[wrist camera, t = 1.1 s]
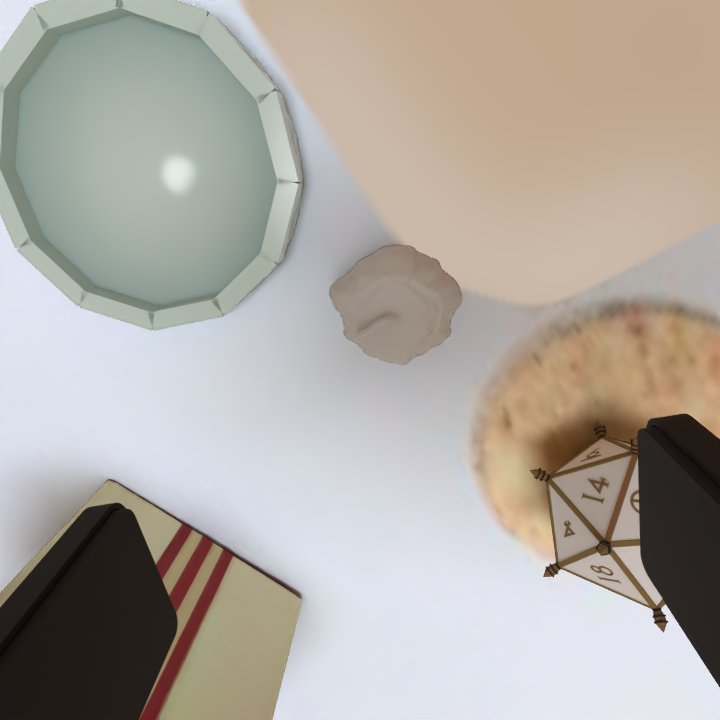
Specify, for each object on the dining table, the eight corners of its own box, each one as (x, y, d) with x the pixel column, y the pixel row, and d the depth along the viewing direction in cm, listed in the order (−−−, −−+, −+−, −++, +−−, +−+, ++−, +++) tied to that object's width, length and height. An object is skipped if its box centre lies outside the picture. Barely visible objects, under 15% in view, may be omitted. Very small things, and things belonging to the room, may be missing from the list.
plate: (254, -41, 22) (240, -60, 20) (332, 286, 26) (328, 296, 24) (-41, 47, 24) (-79, 38, 22) (81, 338, 28) (59, 350, 26)
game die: (543, 437, 33) (470, 475, 25) (689, 386, 28) (657, 413, 20) (607, 581, 31) (551, 672, 23) (777, 554, 26) (780, 658, 18)
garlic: (339, 345, 27) (326, 384, 23) (333, 240, 25) (318, 259, 21) (454, 344, 27) (467, 384, 22) (457, 237, 25) (472, 255, 20)
